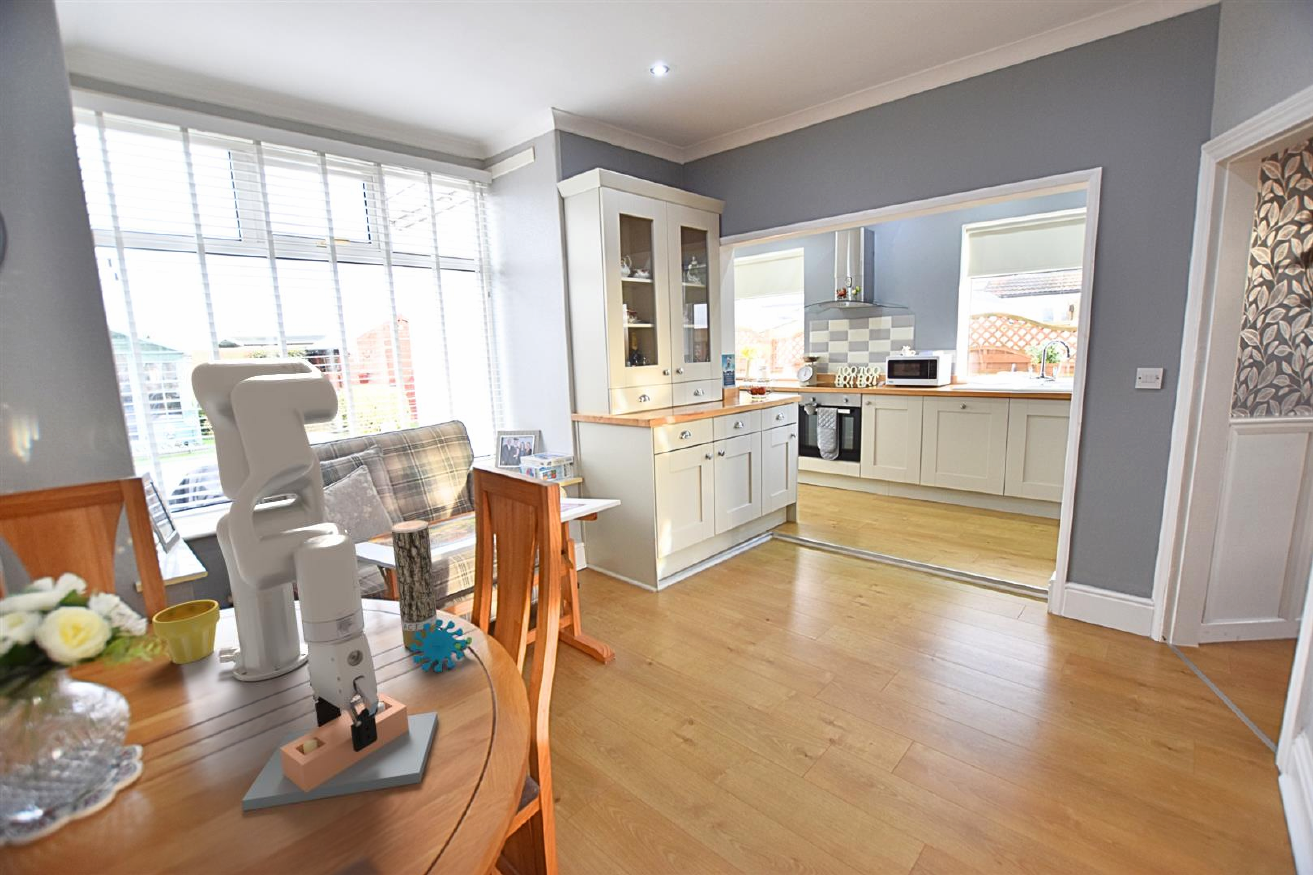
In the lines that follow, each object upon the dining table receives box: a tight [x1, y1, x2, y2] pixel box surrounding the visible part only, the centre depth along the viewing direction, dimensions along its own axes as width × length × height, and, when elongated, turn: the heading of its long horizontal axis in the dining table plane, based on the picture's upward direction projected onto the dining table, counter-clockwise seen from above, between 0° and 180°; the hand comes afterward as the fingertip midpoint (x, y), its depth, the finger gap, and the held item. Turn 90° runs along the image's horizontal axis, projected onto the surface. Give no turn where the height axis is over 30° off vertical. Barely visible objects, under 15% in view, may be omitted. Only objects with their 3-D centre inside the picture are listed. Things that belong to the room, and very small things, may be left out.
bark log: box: [391, 519, 438, 649], centre depth 118 cm, size 7×7×25 cm
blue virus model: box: [409, 618, 473, 673], centre depth 112 cm, size 11×6×10 cm
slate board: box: [241, 702, 439, 812], centre depth 84 cm, size 22×14×6 cm, turn 101°
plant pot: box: [151, 599, 221, 665], centre depth 117 cm, size 10×10×10 cm
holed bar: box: [280, 693, 409, 793], centre depth 84 cm, size 15×6×4 cm, turn 146°
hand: (347, 733), depth 84 cm, fingers open, 9 cm apart
